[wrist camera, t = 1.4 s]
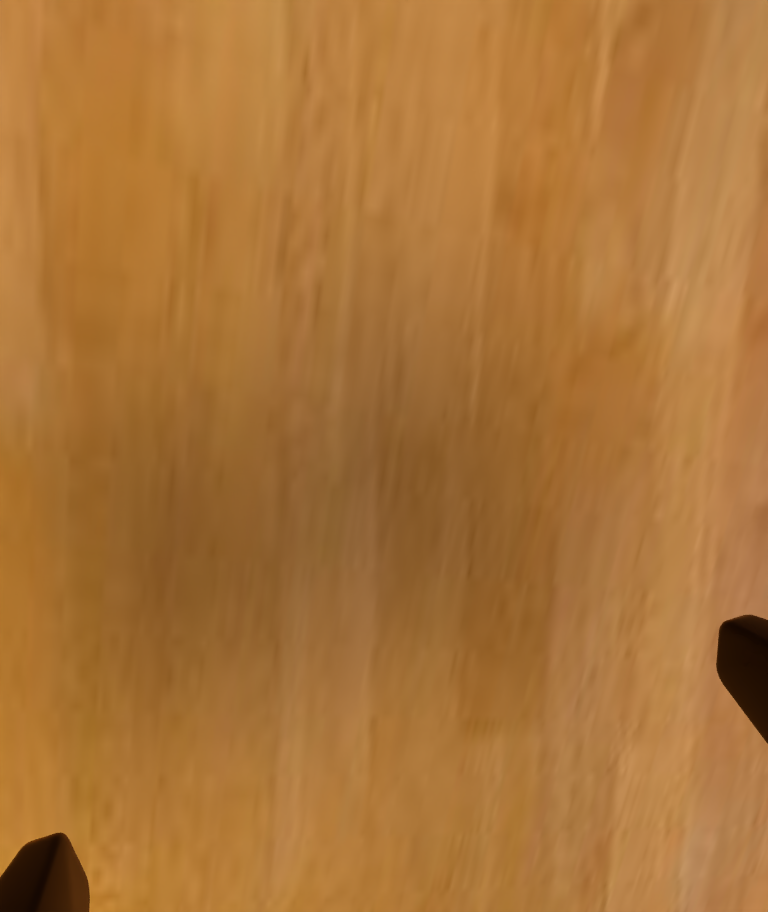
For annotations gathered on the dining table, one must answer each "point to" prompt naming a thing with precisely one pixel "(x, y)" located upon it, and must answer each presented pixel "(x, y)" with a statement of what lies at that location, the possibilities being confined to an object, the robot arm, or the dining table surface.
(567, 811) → the dining table surface
